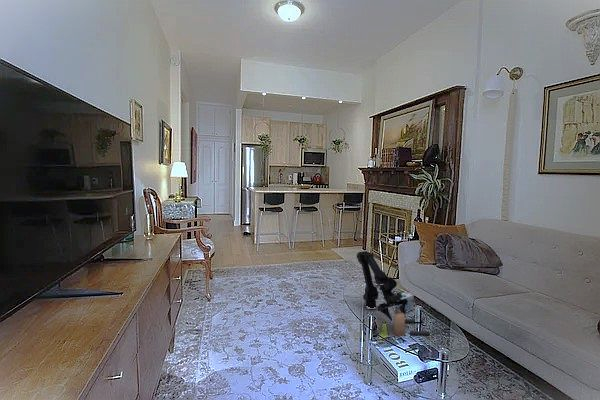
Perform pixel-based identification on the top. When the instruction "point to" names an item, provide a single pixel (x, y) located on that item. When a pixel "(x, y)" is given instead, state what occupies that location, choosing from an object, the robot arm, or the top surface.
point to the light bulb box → (409, 298)
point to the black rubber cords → (416, 331)
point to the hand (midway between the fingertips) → (398, 318)
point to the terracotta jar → (399, 323)
